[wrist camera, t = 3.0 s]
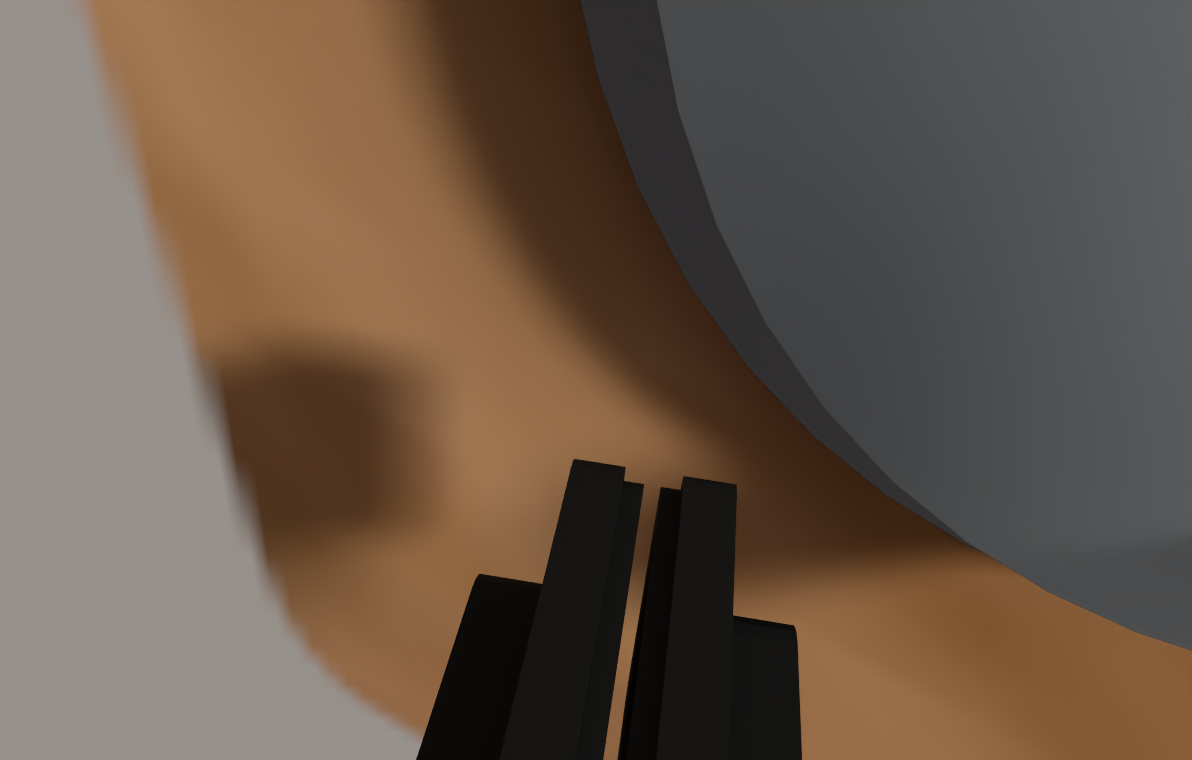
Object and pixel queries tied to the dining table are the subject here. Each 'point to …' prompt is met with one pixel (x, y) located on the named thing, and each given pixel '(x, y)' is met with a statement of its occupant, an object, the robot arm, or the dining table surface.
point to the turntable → (976, 259)
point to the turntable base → (702, 217)
